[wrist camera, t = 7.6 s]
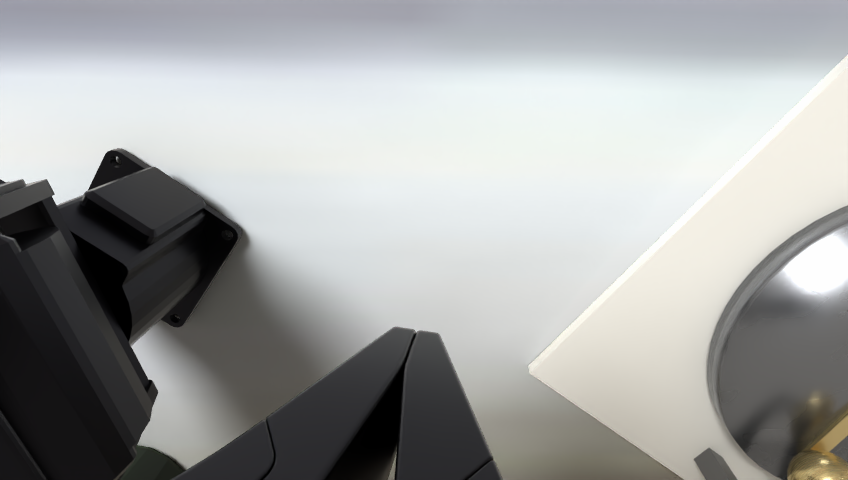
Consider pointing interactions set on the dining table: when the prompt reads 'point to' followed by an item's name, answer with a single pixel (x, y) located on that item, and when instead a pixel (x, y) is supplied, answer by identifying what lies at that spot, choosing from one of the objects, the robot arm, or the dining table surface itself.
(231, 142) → the dining table surface
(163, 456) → the potion bottle
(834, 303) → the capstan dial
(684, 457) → the level stand
